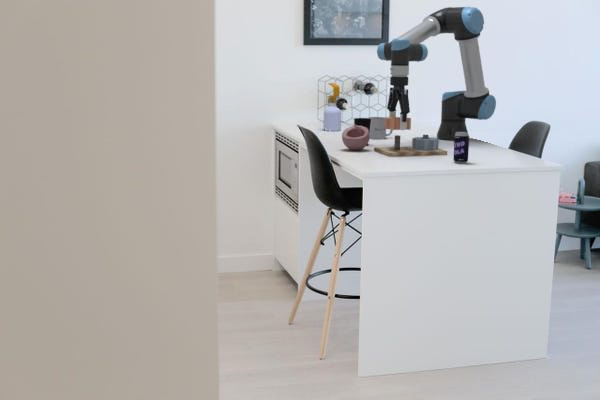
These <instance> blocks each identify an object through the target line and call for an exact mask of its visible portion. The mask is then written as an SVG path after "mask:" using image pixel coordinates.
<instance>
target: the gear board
mask: <svg viewBox="0 0 600 400" xmlns="http://www.w3.org/2000/svg"><path fill="white" fill-rule="evenodd" d="M422 137H423V139H428V137H429V134H423V135H422ZM373 151H374V152H376V153H378V154H382V155H384V156H387V157H389V158H390V157H391V158H392V157H393V158H394V157H417V156H418V157H421V156H424V157H425V156H426V157H427V156H447V155H448V151H447V150H444V149H441V148H438V149H436V150H428V151H424V150H415V149H412V145H411V146H409V145H408V146H401V135H394V146H386V147H385V146H379V147H376V146H375V147H373Z"/></svg>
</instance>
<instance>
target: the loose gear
mask: <svg viewBox="0 0 600 400" xmlns="http://www.w3.org/2000/svg"><path fill="white" fill-rule="evenodd" d="M384 118H385V129H386V130H390V131H391V130H393V131H401V130H400V116H396V117H388V116H386V117H384ZM411 127H412V118H411V117H407V130H411Z"/></svg>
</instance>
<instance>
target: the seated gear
mask: <svg viewBox="0 0 600 400" xmlns="http://www.w3.org/2000/svg"><path fill="white" fill-rule="evenodd" d="M411 139H412V141H411V142H412V145H411V146H412V149H415V150H424V151H428V150H436V149H439V144H440V143H439V142H440V141H439V140H440V139H437V137H429V136H428V139H423V136H422V137H421V136H415V137H412V138H411Z"/></svg>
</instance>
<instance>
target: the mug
mask: <svg viewBox="0 0 600 400" xmlns="http://www.w3.org/2000/svg"><path fill="white" fill-rule="evenodd" d="M368 118H369V119H371V124H370V132H369V134H370V139H369V140H375V141H376V140H386V139H387V138H386V137H389V136H391V135H392V134H393V131H394V130H391V129H390V131H389V132H388V133H387V129H385V117H383V116H370V117H369V116H368Z"/></svg>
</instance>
